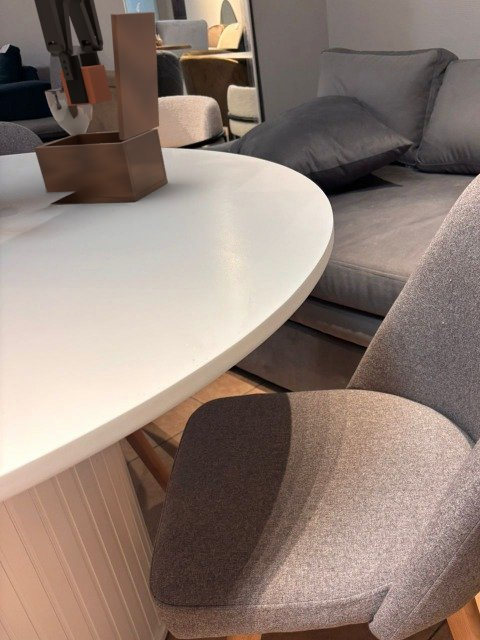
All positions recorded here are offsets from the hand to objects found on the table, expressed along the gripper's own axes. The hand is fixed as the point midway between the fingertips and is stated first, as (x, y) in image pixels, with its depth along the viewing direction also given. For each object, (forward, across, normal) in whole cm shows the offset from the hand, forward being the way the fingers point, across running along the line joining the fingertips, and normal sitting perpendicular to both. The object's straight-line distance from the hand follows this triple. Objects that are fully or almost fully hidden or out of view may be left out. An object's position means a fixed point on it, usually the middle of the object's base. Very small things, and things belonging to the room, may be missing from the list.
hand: (89, 100), depth 101 cm
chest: (+14, 0, 0) cm, 14 cm away
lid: (-3, 0, -9) cm, 9 cm away
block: (0, 0, 0) cm, 0 cm away
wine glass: (+15, +18, +15) cm, 28 cm away
